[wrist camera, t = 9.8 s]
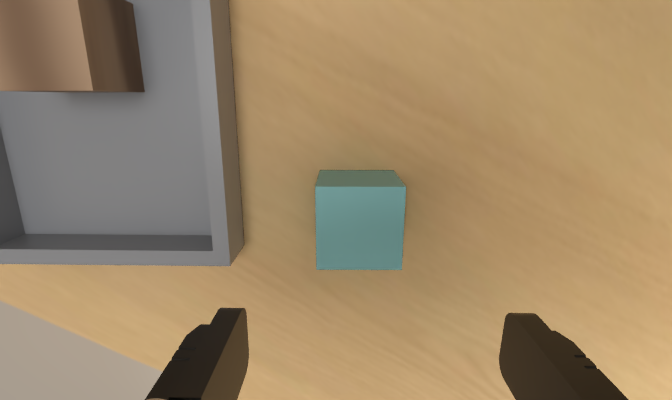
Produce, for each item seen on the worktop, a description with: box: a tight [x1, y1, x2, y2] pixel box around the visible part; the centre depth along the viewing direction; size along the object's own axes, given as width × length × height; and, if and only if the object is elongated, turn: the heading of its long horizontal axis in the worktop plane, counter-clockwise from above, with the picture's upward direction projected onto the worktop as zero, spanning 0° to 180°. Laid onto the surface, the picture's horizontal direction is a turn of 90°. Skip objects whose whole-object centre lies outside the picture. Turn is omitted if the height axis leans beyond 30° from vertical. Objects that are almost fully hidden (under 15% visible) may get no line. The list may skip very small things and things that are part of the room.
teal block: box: [315, 170, 406, 270], centre depth 23 cm, size 5×5×5 cm
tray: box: [0, 0, 244, 266], centre depth 22 cm, size 16×18×4 cm
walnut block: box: [0, 0, 145, 92], centre depth 20 cm, size 5×5×5 cm
